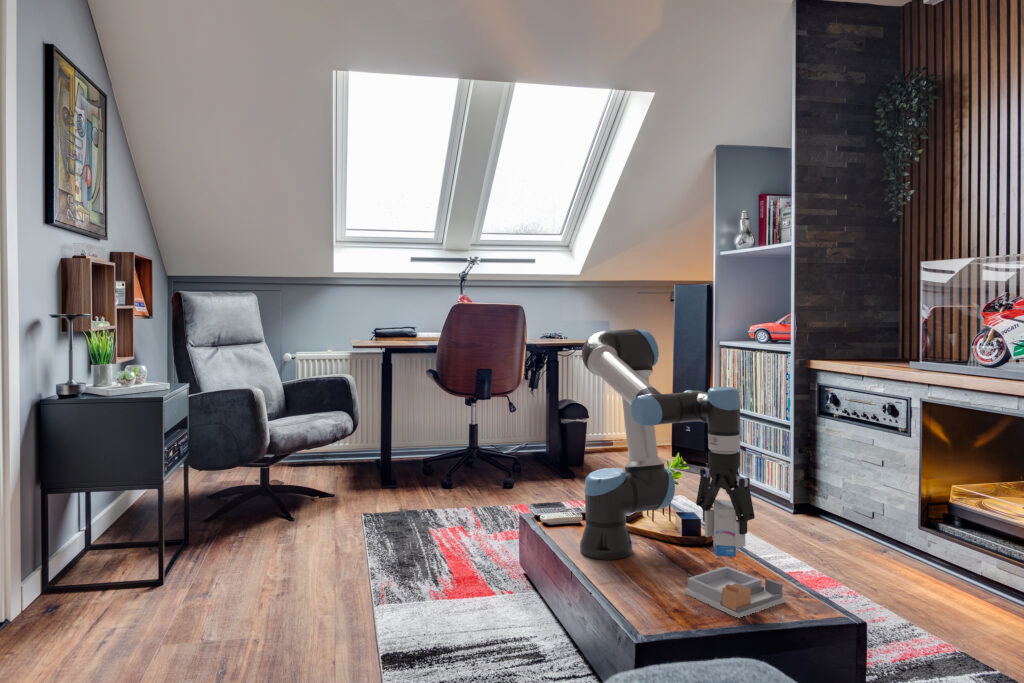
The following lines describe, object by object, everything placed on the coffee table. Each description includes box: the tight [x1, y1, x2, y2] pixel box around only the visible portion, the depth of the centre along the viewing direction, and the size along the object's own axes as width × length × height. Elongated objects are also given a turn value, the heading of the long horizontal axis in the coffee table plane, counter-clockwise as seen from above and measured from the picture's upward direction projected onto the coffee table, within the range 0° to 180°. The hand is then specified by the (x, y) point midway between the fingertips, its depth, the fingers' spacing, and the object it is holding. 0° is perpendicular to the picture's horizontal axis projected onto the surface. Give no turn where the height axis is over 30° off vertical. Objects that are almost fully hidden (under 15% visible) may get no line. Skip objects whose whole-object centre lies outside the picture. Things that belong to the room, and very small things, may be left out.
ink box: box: [712, 499, 737, 558], centre depth 177 cm, size 9×5×12 cm, turn 168°
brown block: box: [722, 583, 751, 611], centre depth 168 cm, size 4×5×5 cm
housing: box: [684, 565, 786, 619], centre depth 175 cm, size 17×16×4 cm
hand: (724, 541), depth 177 cm, fingers closed on ink box, 9 cm apart
